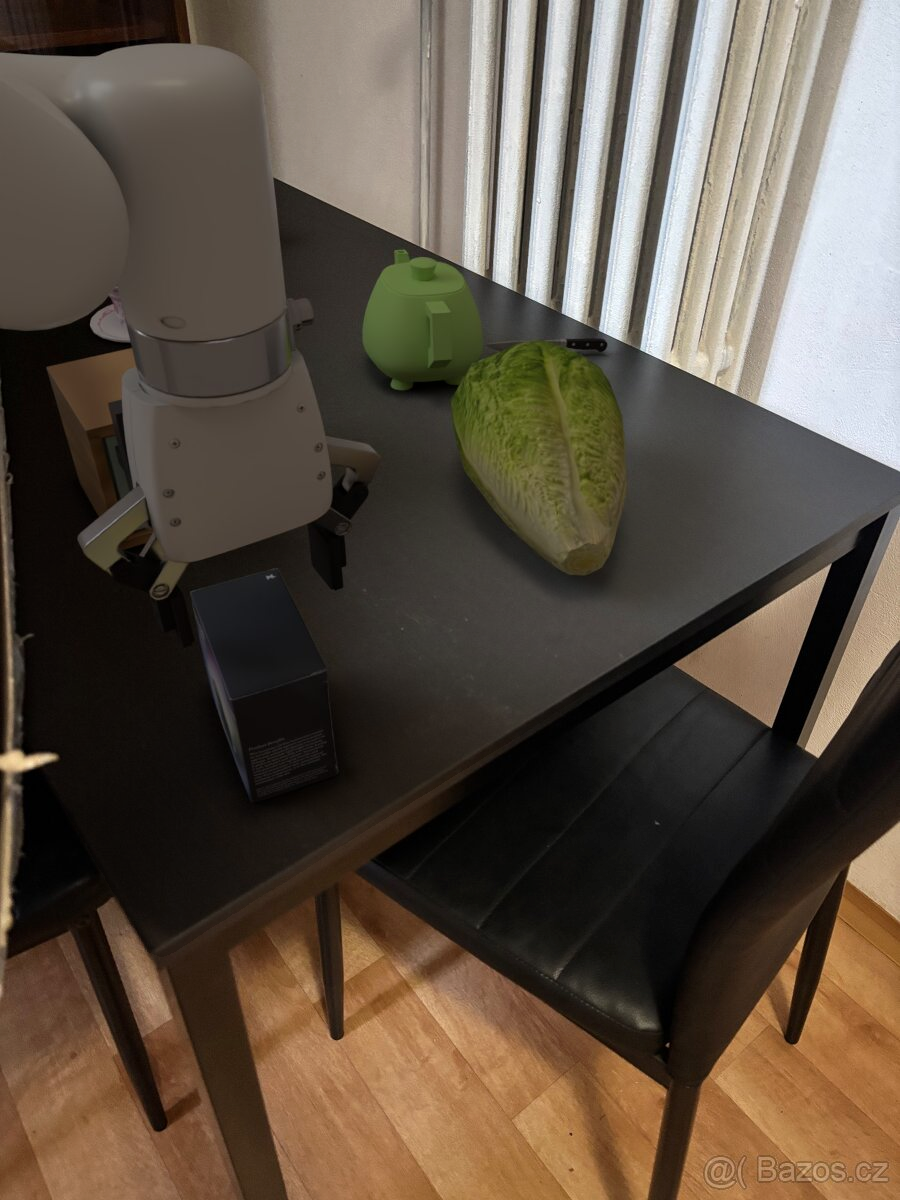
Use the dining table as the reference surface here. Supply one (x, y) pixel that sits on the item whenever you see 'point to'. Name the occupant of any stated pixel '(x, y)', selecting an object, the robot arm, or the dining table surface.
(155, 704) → the dining table surface
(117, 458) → the sliding door
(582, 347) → the knife
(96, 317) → the teacup
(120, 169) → the robot arm
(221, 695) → the small box
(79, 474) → the cabinet
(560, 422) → the lettuce
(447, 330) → the teapot
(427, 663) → the dining table surface
